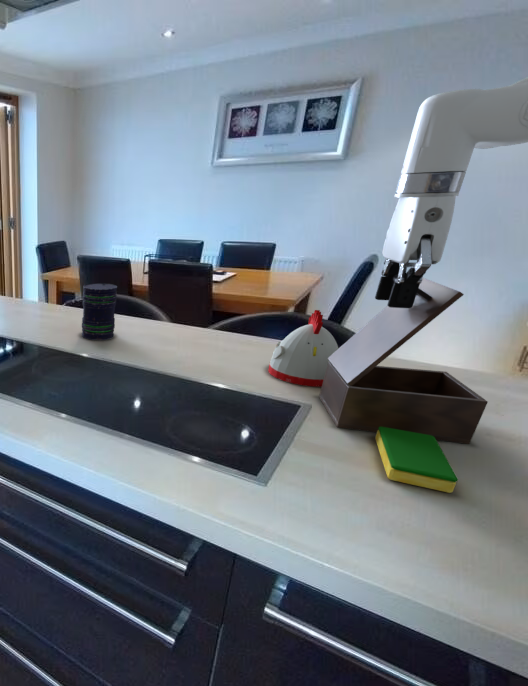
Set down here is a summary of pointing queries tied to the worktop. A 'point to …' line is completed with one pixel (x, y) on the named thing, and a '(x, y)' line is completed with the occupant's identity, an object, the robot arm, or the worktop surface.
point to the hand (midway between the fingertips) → (392, 302)
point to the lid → (391, 330)
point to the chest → (404, 402)
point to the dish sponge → (415, 459)
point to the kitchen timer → (304, 354)
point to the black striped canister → (98, 311)
